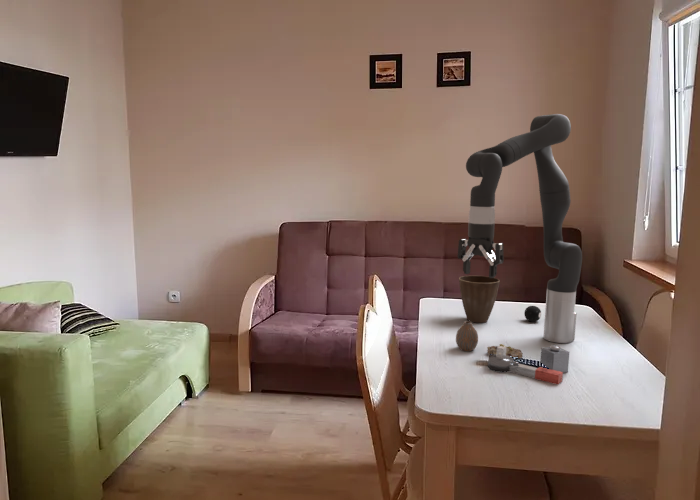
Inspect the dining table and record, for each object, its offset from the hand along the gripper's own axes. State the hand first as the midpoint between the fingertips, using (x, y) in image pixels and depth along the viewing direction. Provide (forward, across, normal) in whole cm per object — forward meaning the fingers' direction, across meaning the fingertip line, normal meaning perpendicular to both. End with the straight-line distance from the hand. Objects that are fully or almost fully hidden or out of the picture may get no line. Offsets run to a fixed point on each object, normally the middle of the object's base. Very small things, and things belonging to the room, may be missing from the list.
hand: (479, 275), depth 171 cm
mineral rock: (+26, -6, -8) cm, 28 cm away
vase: (+26, +6, -4) cm, 27 cm away
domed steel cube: (+25, -22, -7) cm, 34 cm away
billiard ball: (+26, +8, -52) cm, 59 cm away
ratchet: (+25, -17, +3) cm, 31 cm away
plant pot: (+26, +23, -37) cm, 51 cm away
